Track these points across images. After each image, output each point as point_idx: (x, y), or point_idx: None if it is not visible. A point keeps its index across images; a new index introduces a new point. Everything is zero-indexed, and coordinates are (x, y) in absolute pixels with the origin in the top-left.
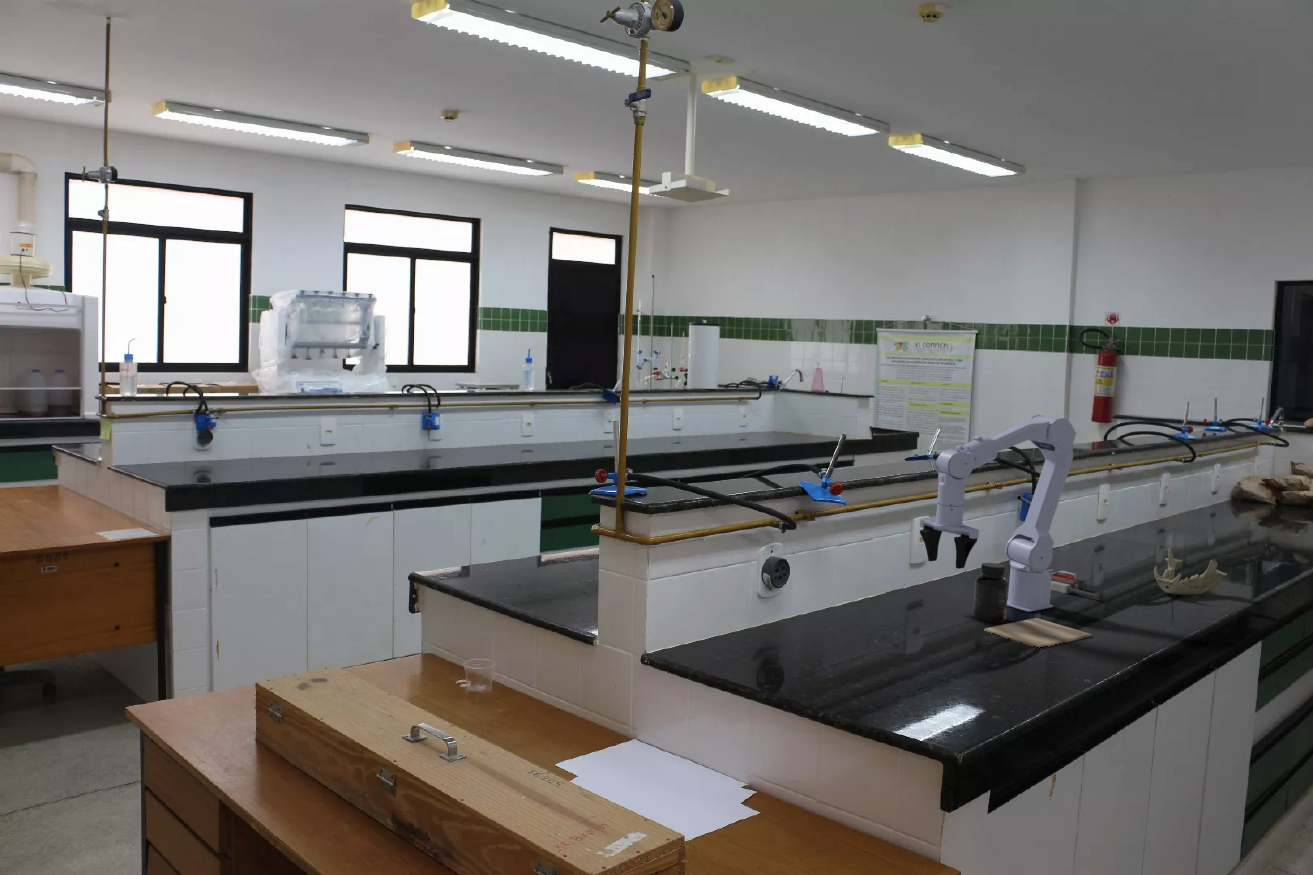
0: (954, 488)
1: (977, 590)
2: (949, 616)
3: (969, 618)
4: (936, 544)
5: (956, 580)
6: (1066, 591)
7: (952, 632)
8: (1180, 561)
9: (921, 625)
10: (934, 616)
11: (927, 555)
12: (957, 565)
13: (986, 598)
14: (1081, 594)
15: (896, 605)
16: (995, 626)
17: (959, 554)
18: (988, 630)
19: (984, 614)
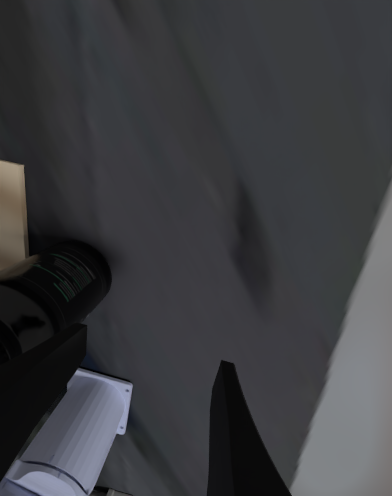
0: None
1: (43, 276)
2: (140, 220)
3: (105, 242)
4: (211, 476)
5: None
6: (107, 493)
7: (48, 72)
8: None
9: (134, 58)
10: (162, 188)
11: (238, 381)
12: (69, 328)
13: (25, 261)
14: None
15: (286, 208)
16: (21, 207)
17: (8, 363)
18: (8, 162)
19: (59, 244)
